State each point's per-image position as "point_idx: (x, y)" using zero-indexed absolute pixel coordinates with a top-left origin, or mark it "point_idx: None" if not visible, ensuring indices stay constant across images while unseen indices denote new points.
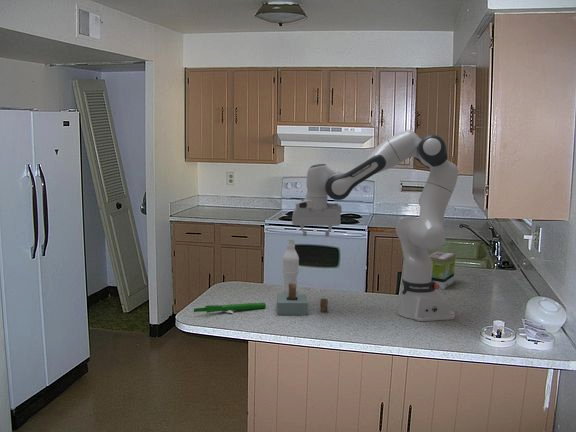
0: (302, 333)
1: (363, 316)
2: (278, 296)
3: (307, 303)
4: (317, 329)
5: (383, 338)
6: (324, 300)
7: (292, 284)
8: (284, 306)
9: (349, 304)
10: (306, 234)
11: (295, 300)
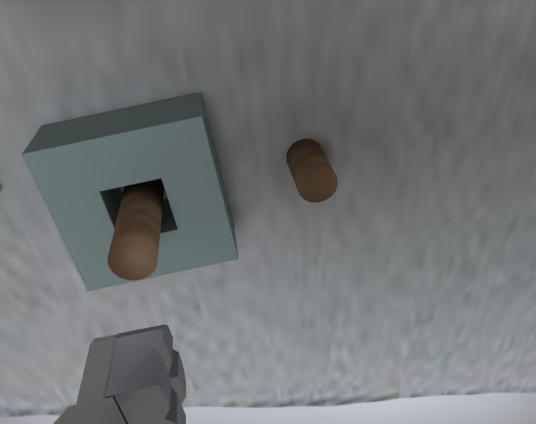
0: (243, 385)
1: (480, 181)
2: (48, 194)
3: (236, 258)
4: (290, 346)
5: (498, 357)
6: (319, 199)
7: (133, 262)
8: None
9: (445, 7)
10: (179, 381)
11: (167, 236)
